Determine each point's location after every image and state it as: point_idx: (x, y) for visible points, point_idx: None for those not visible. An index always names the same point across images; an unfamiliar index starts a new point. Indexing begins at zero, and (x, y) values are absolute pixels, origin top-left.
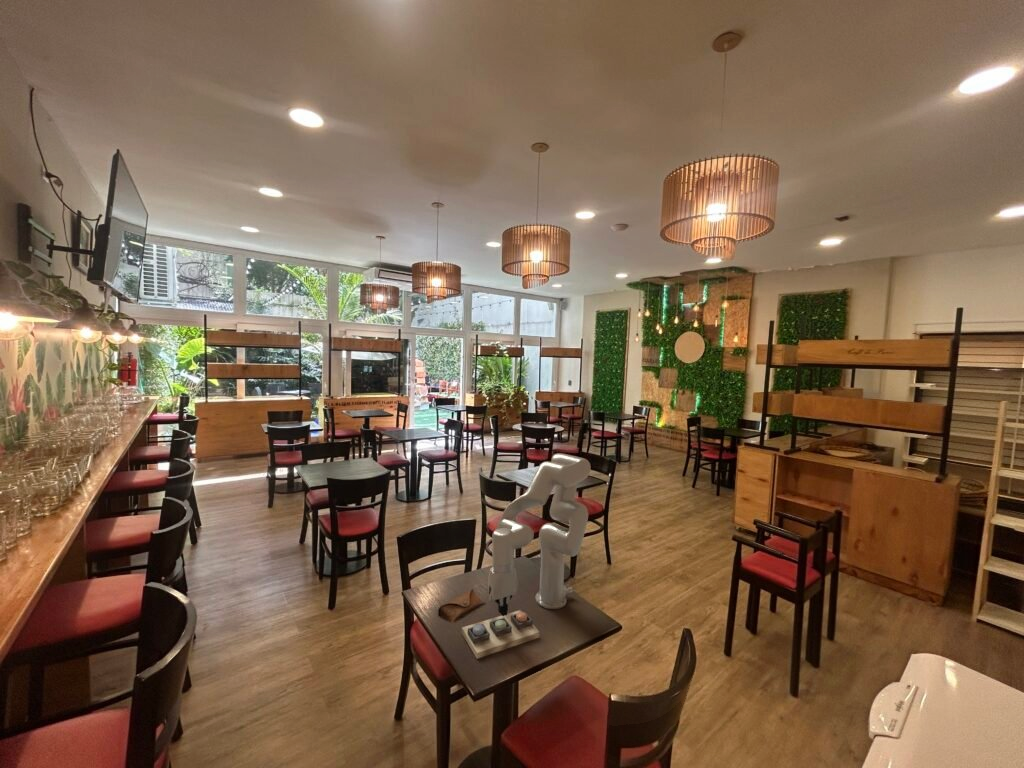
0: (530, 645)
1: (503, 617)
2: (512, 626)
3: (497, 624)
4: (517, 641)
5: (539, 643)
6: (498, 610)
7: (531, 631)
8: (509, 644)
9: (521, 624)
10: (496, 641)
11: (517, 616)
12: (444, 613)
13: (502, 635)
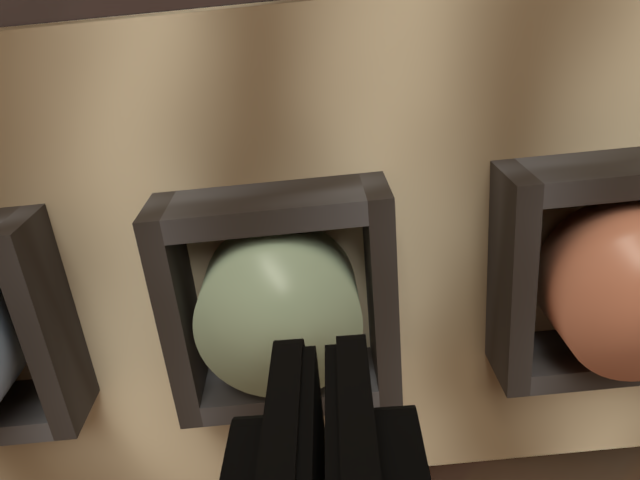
0: (504, 459)
1: (427, 48)
2: (453, 276)
3: (224, 335)
4: None
5: (594, 461)
6: (232, 422)
7: (608, 414)
8: None
9: (551, 386)
10: (169, 438)
11: (580, 309)
12: None
13: None
